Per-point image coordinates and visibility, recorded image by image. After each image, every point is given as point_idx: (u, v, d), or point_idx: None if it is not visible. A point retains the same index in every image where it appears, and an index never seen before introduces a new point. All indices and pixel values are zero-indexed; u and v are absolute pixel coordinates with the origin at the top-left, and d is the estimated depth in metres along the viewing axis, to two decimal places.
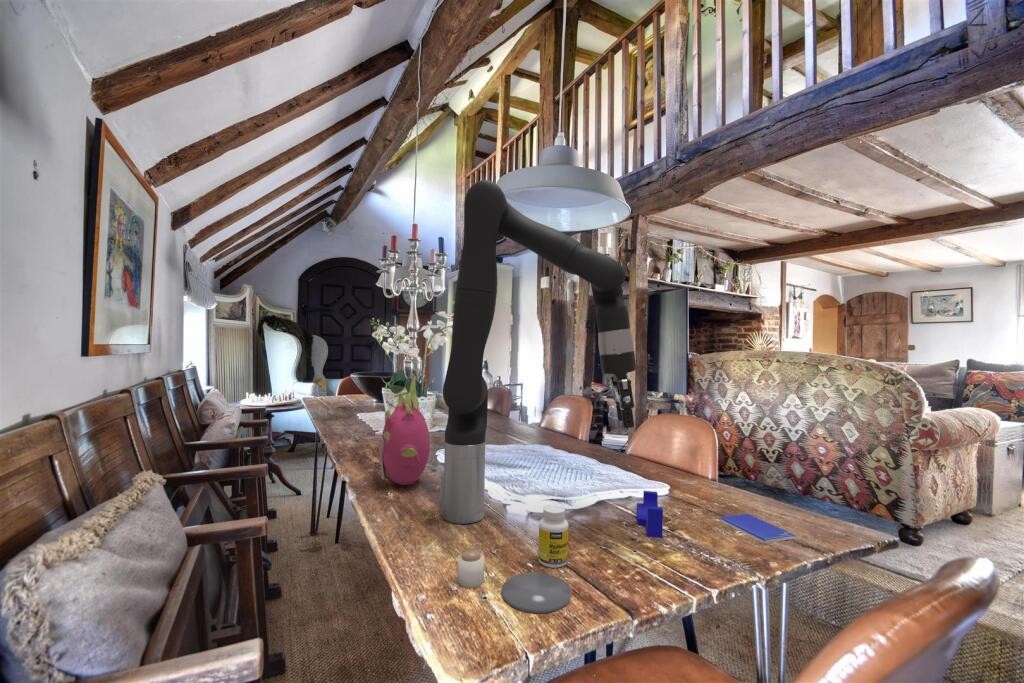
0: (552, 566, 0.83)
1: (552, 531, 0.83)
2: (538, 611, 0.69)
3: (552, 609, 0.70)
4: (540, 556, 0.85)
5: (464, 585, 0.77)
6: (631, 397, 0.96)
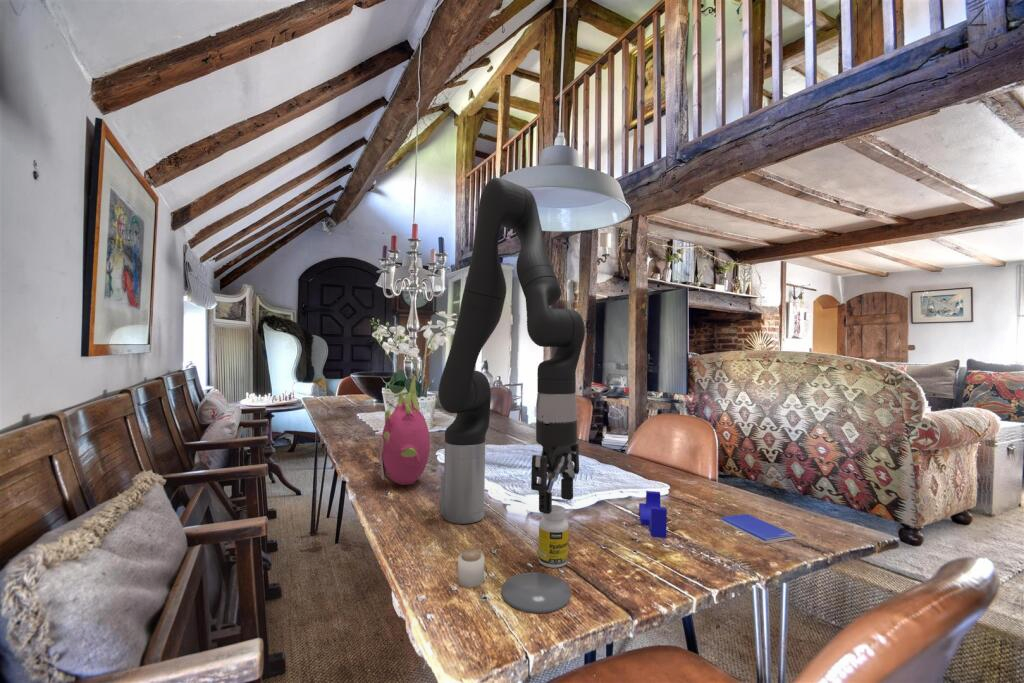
0: (552, 566, 0.83)
1: (552, 531, 0.83)
2: (538, 611, 0.69)
3: (552, 609, 0.70)
4: (540, 556, 0.85)
5: (464, 585, 0.77)
6: (542, 479, 0.79)
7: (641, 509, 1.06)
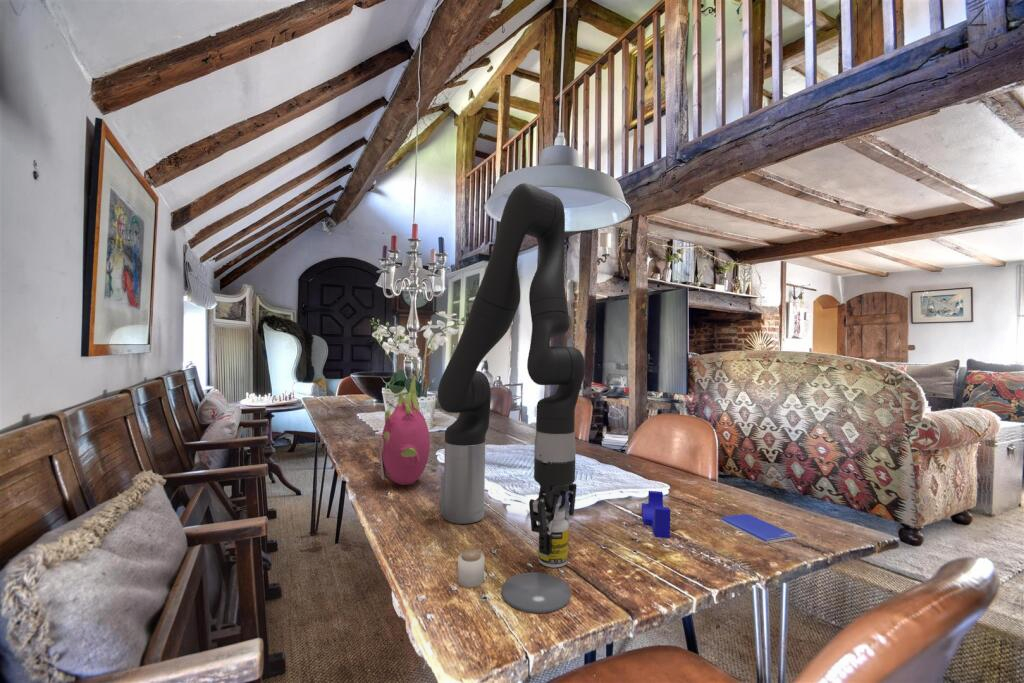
0: (552, 566, 0.83)
1: (552, 531, 0.83)
2: (538, 611, 0.69)
3: (552, 609, 0.70)
4: (540, 556, 0.85)
5: (464, 585, 0.77)
6: (541, 524, 0.80)
7: (644, 509, 1.06)
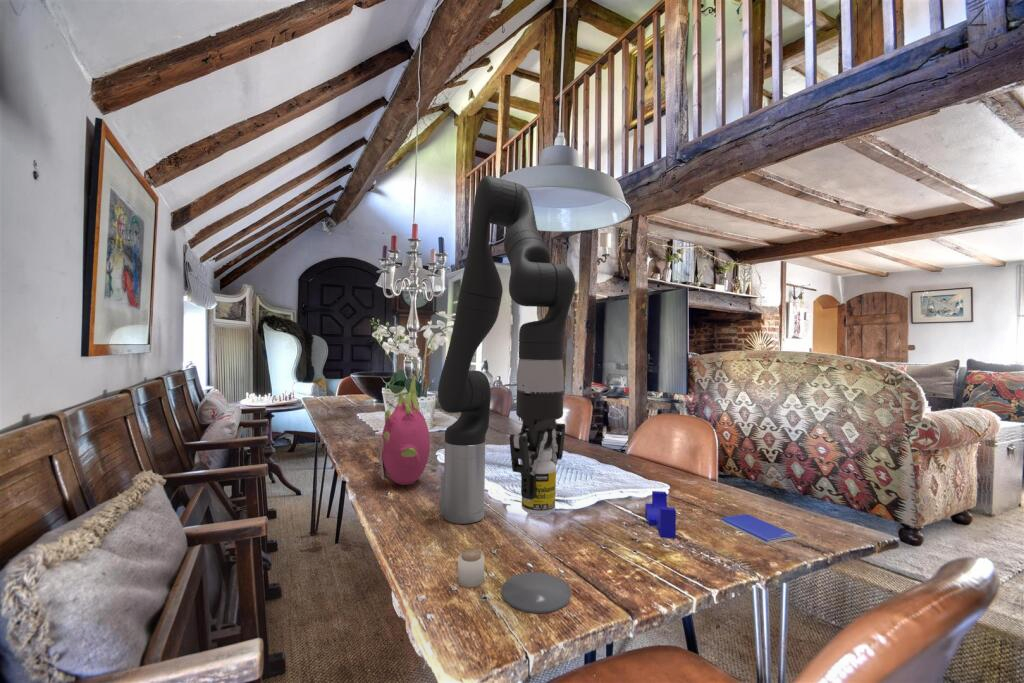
0: (537, 512, 0.72)
1: (537, 473, 0.72)
2: (538, 611, 0.69)
3: (552, 609, 0.70)
4: (523, 502, 0.74)
5: (464, 585, 0.77)
6: (523, 461, 0.69)
7: (648, 509, 1.06)
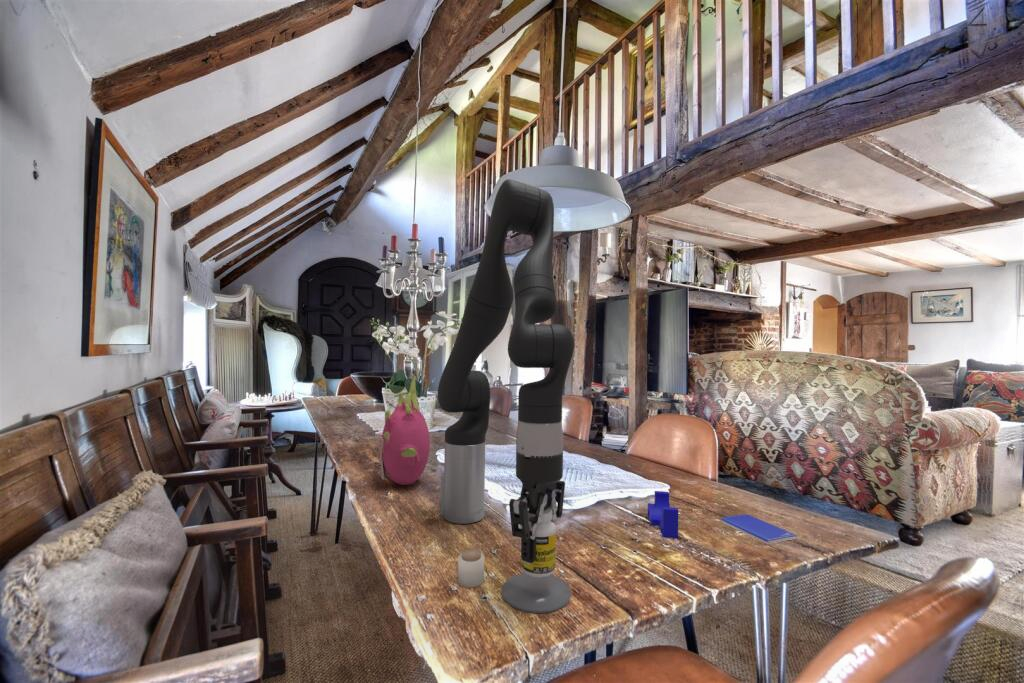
0: (537, 576, 0.72)
1: (537, 536, 0.72)
2: (538, 611, 0.69)
3: (552, 609, 0.70)
4: (523, 564, 0.74)
5: (464, 585, 0.77)
6: (523, 527, 0.69)
7: (650, 509, 1.06)
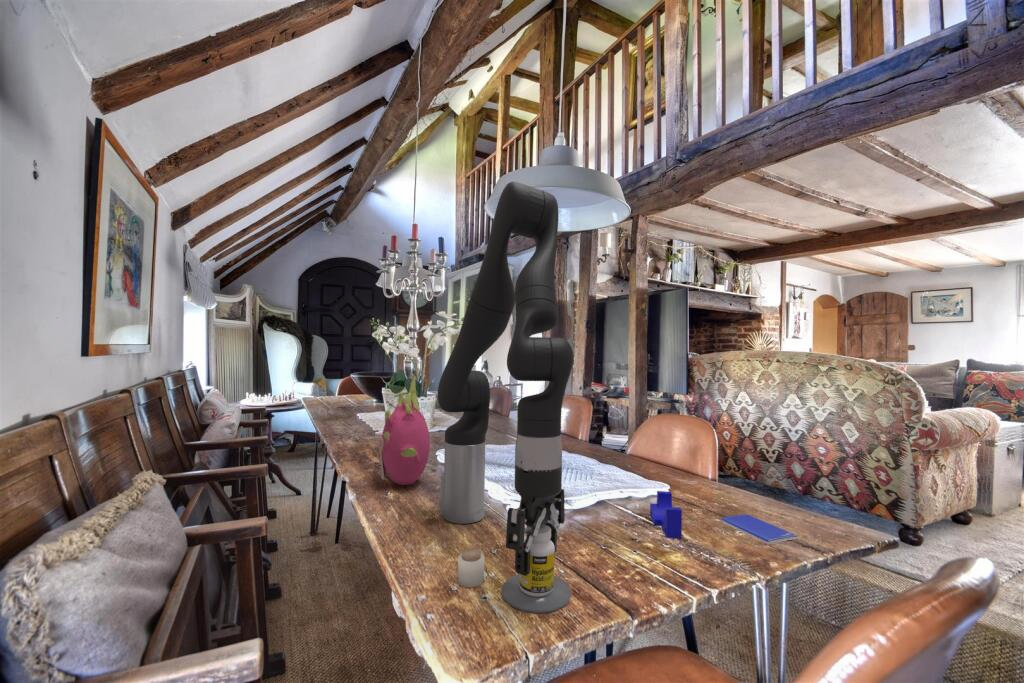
0: (535, 595, 0.72)
1: (535, 555, 0.72)
2: (538, 611, 0.69)
3: (552, 609, 0.70)
4: (521, 583, 0.74)
5: (464, 585, 0.77)
6: (518, 537, 0.69)
7: (653, 509, 1.06)
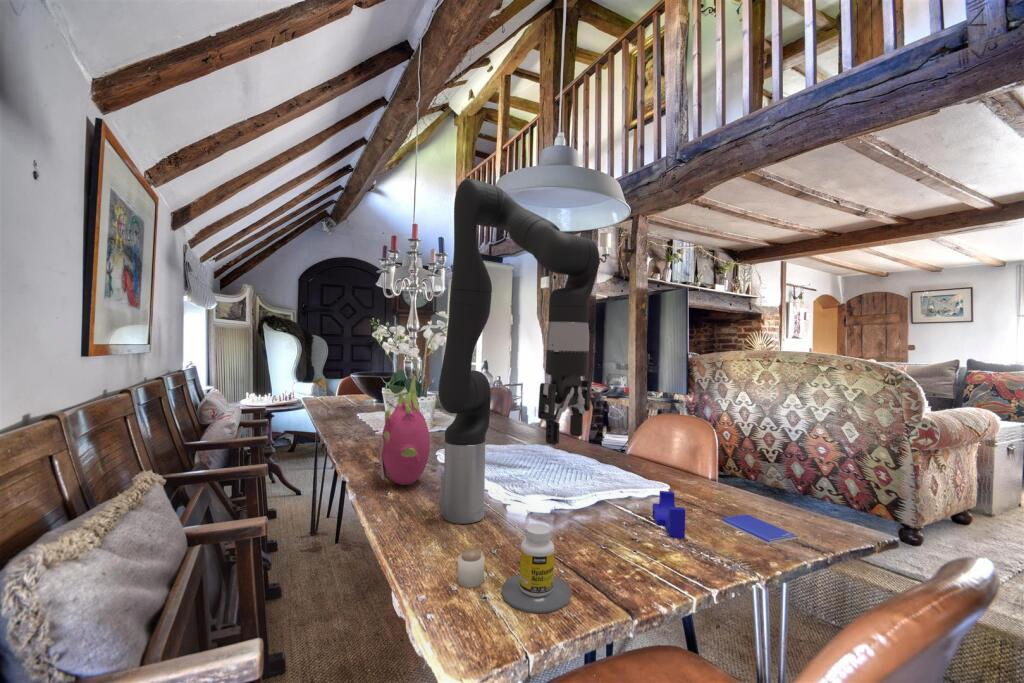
0: (534, 595, 0.72)
1: (535, 555, 0.72)
2: (538, 611, 0.69)
3: (552, 609, 0.70)
4: (521, 583, 0.74)
5: (464, 585, 0.77)
6: (549, 407, 0.76)
7: (656, 509, 1.06)
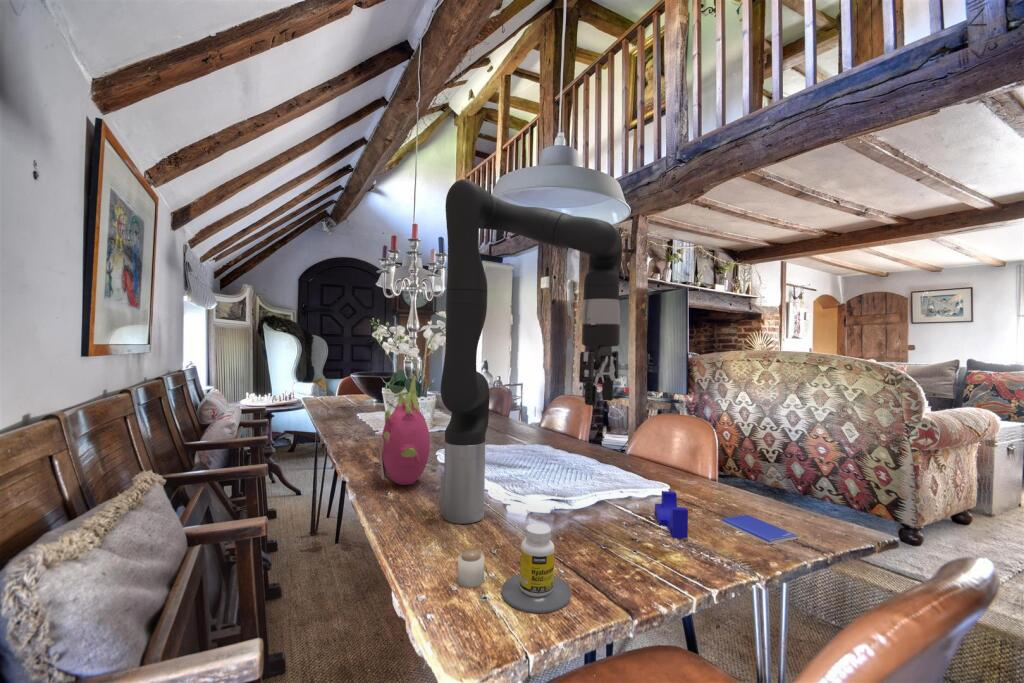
0: (534, 595, 0.72)
1: (535, 555, 0.72)
2: (538, 611, 0.69)
3: (552, 609, 0.70)
4: (521, 582, 0.74)
5: (464, 585, 0.77)
6: (589, 371, 0.88)
7: (658, 509, 1.06)
